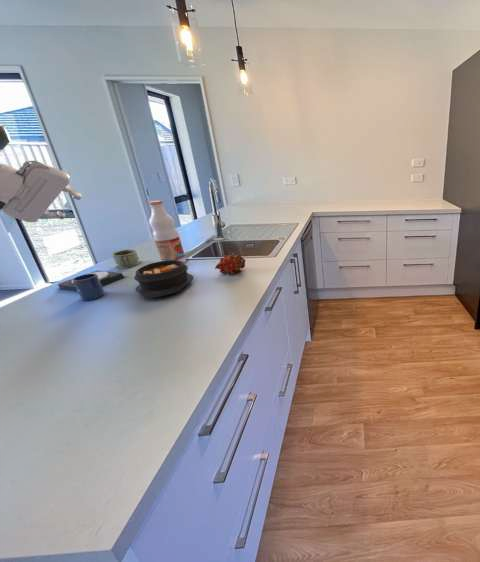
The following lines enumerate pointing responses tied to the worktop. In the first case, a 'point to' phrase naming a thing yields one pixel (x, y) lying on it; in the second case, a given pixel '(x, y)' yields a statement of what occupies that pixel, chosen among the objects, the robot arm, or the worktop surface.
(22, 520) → the worktop surface
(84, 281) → the dark blue cup
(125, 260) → the vessel
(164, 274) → the casserole
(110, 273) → the scale
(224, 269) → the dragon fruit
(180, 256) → the fruit juice
